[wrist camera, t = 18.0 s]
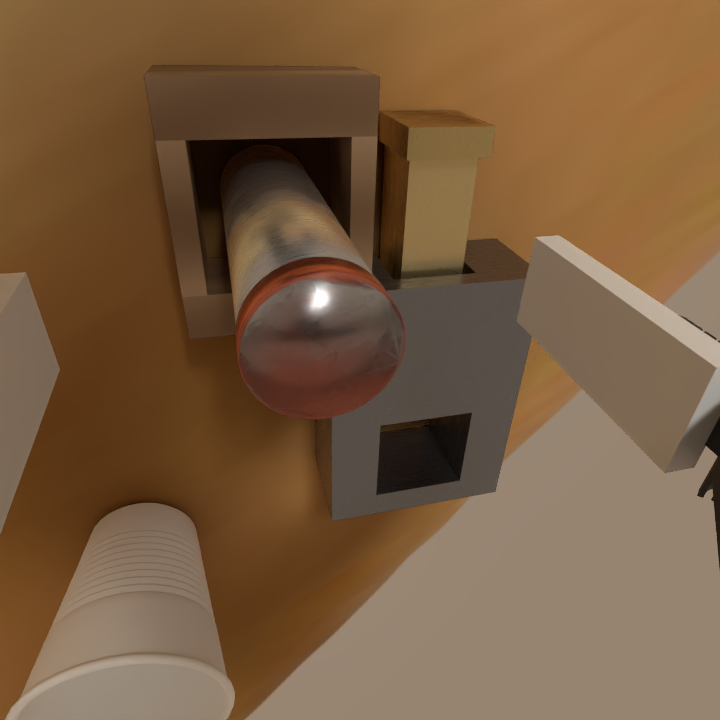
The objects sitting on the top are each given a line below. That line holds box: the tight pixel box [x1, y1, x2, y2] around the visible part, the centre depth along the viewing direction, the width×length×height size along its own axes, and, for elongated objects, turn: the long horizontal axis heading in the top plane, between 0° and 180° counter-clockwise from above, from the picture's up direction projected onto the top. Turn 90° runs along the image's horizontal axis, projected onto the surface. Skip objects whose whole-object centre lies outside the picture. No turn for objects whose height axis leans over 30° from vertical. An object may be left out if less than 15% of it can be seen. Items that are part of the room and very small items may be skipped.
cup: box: [5, 503, 235, 720], centre depth 29 cm, size 10×10×11 cm
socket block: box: [315, 239, 531, 521], centre depth 29 cm, size 14×10×5 cm
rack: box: [144, 65, 380, 339], centre depth 23 cm, size 10×8×4 cm
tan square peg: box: [379, 110, 496, 280], centre depth 25 cm, size 11×4×4 cm, turn 179°
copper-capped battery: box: [220, 144, 405, 419], centre depth 19 cm, size 4×4×14 cm
